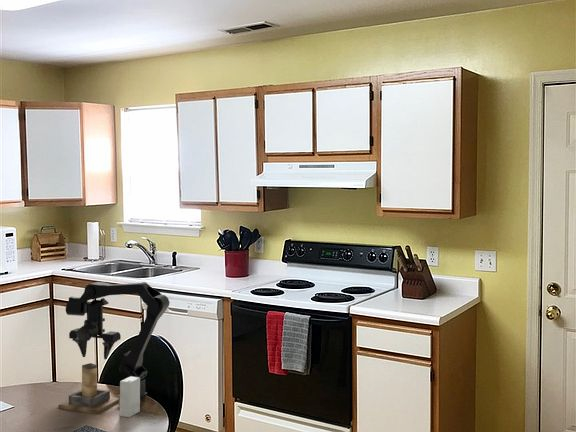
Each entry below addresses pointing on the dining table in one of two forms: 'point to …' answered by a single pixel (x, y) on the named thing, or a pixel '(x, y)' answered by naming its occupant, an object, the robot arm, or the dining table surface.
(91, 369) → the beige tall block
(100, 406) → the peg socket base
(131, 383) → the skincare box
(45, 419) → the dining table surface
